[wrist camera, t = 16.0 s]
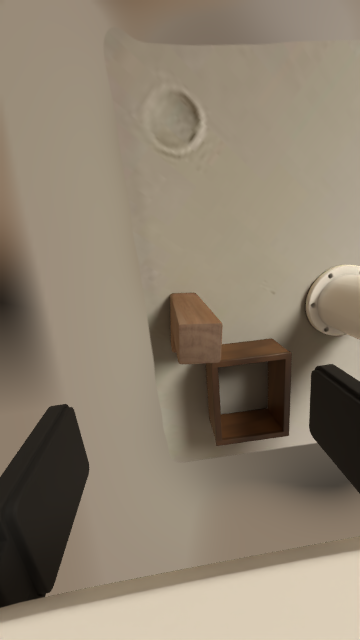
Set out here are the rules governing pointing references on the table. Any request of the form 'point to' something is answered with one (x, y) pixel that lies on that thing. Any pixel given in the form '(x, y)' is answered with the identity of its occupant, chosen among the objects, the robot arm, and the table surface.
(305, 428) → the table surface
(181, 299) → the wooden block
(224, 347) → the wooden box
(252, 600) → the robot arm
